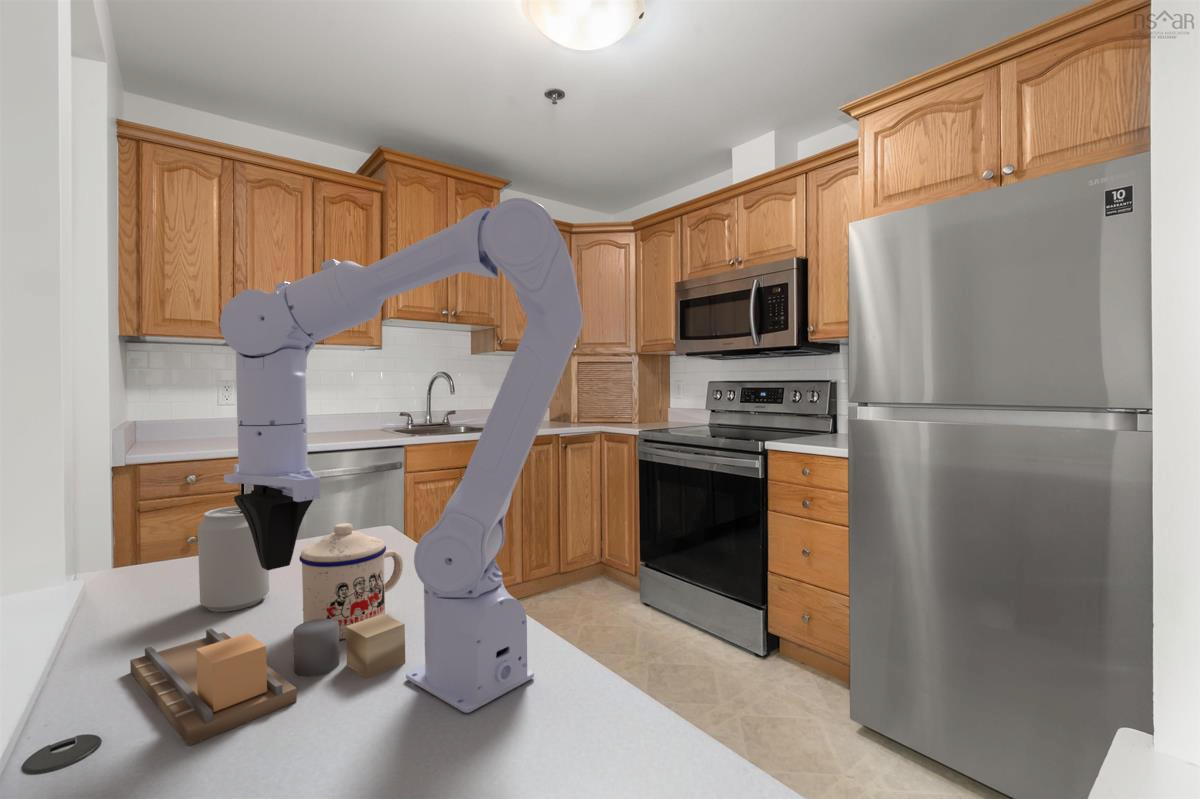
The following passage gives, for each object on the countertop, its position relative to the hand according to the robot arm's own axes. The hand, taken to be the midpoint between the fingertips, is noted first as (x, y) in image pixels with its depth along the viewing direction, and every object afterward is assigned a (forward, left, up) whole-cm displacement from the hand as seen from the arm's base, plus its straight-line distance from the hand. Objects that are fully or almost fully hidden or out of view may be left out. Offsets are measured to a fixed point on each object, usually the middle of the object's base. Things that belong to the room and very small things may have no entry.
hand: (275, 566), depth 55 cm
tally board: (+3, +5, -11) cm, 12 cm away
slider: (-3, +5, -9) cm, 11 cm away
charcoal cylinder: (-1, -3, -11) cm, 11 cm away
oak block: (-5, -7, -11) cm, 14 cm away
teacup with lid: (+6, -11, -11) cm, 17 cm away
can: (+24, -4, -11) cm, 27 cm away
